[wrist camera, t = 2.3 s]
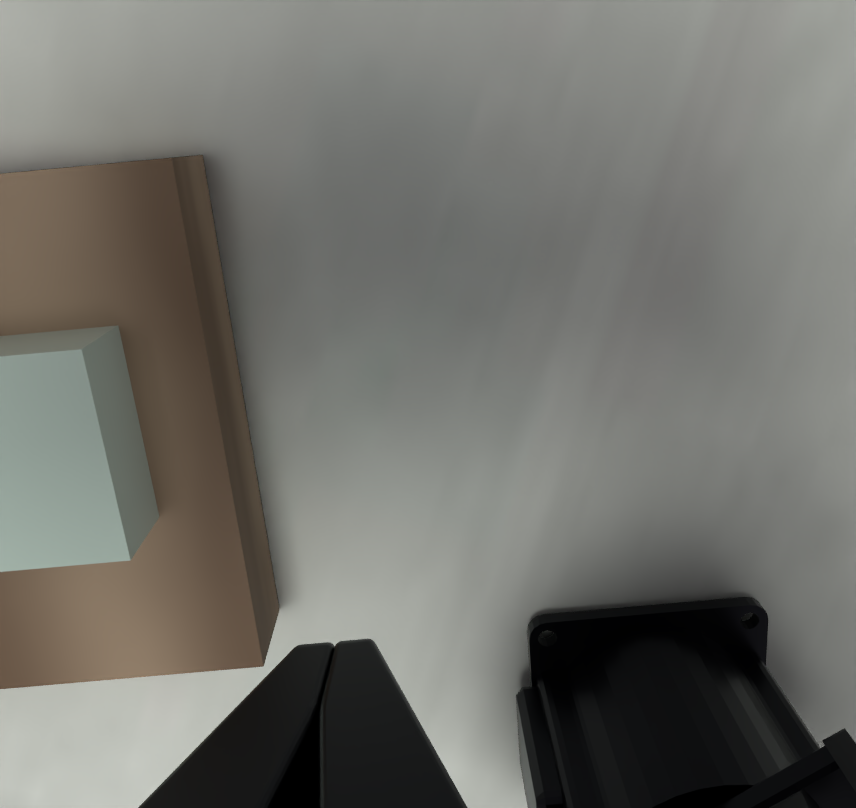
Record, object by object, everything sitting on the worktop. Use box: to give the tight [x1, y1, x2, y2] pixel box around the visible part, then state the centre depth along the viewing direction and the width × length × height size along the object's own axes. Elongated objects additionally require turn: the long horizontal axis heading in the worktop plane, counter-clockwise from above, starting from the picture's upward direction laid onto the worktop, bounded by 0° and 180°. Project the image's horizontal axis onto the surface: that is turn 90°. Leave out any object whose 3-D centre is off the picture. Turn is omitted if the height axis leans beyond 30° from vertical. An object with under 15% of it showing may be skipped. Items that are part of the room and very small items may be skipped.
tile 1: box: [0, 325, 159, 572], centre depth 17 cm, size 4×4×2 cm
